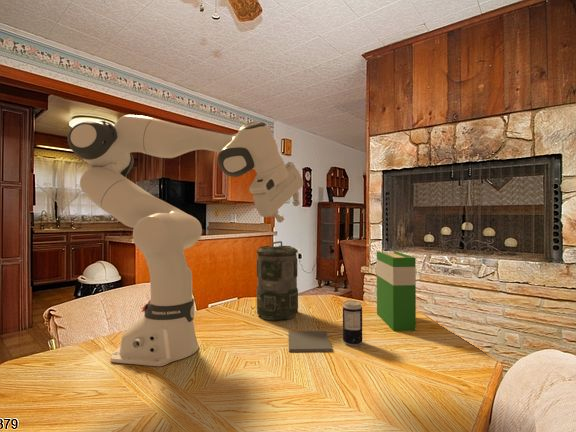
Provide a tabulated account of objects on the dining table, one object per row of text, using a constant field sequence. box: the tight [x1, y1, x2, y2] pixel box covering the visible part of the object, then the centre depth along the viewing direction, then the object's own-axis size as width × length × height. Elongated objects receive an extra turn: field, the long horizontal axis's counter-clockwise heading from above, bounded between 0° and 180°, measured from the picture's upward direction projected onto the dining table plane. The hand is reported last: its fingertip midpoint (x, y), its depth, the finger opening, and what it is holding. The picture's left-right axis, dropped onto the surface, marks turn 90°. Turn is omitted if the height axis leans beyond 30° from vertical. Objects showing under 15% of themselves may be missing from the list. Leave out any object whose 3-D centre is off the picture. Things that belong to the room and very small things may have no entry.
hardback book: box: [376, 250, 417, 332], centre depth 111 cm, size 18×7×24 cm, turn 1°
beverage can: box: [342, 300, 363, 347], centre depth 93 cm, size 6×6×12 cm
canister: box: [256, 240, 299, 321], centre depth 119 cm, size 16×16×28 cm
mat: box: [287, 330, 333, 353], centre depth 94 cm, size 12×13×1 cm
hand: (289, 212), depth 100 cm, fingers open, 8 cm apart
